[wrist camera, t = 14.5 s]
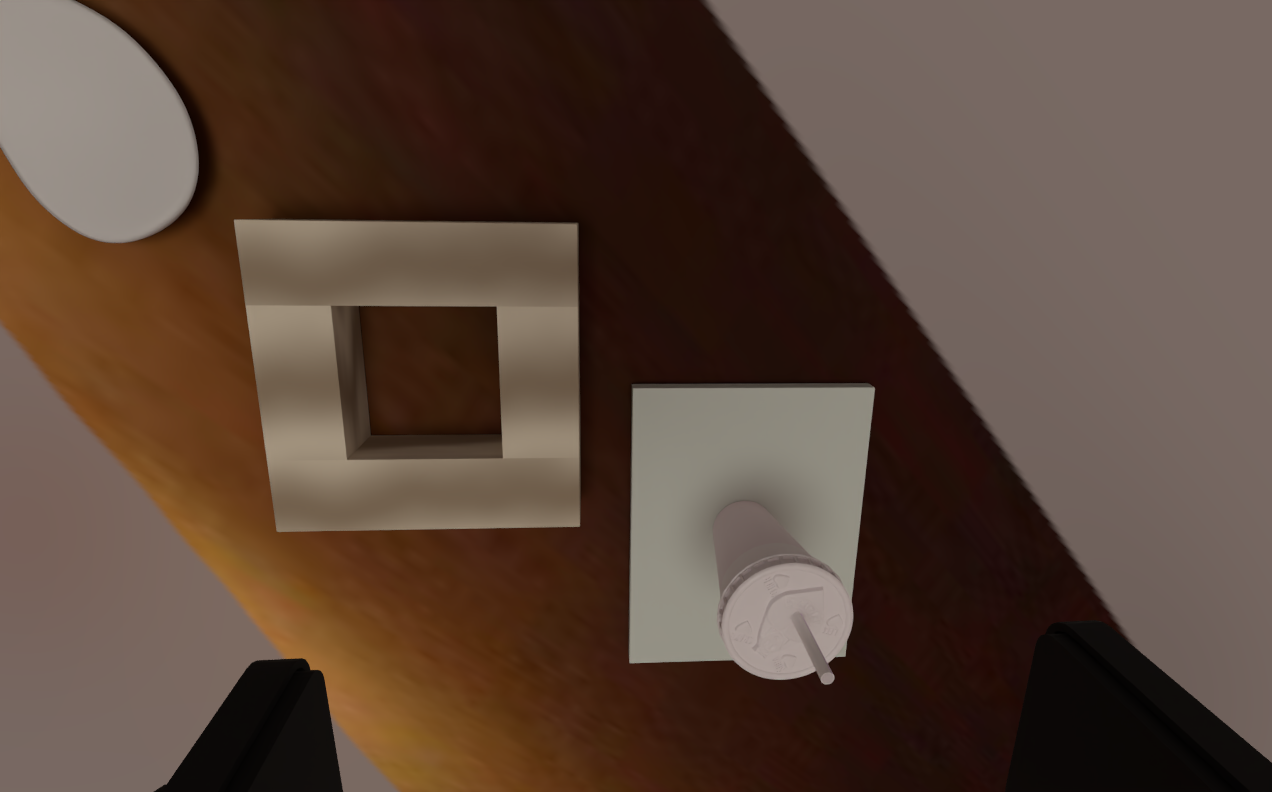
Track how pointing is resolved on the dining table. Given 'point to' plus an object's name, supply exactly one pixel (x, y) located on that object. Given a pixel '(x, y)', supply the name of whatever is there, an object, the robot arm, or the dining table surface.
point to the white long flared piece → (92, 122)
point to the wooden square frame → (336, 385)
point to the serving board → (734, 494)
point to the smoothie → (776, 598)
